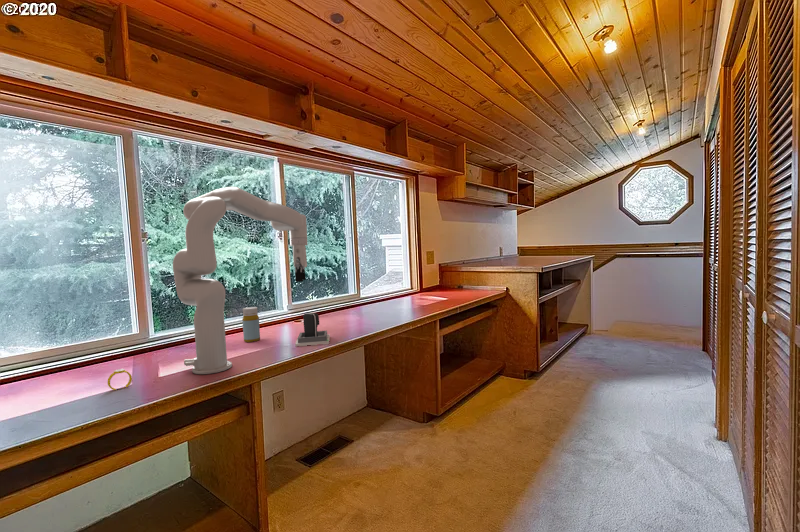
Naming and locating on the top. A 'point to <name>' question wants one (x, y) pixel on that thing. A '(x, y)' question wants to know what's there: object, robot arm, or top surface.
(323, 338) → the dock
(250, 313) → the bottle
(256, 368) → the top surface
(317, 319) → the battery
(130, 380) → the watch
